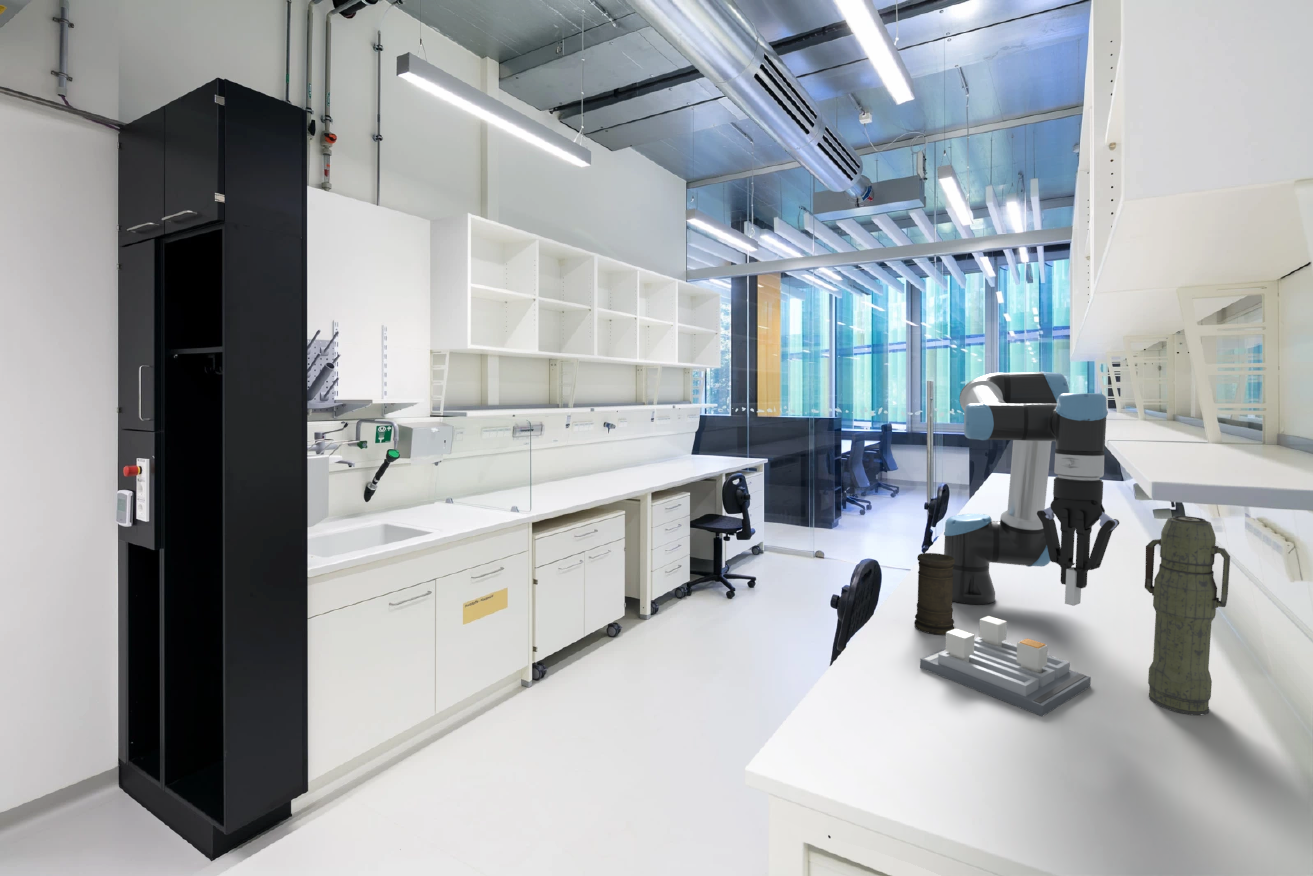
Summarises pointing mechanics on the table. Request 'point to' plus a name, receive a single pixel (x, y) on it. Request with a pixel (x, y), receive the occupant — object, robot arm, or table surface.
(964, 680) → the panel
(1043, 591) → the table surface
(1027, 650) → the handle
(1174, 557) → the thermos
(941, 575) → the container
